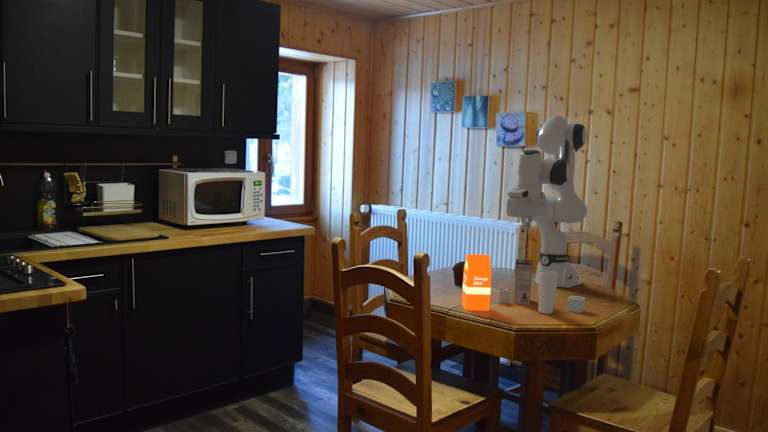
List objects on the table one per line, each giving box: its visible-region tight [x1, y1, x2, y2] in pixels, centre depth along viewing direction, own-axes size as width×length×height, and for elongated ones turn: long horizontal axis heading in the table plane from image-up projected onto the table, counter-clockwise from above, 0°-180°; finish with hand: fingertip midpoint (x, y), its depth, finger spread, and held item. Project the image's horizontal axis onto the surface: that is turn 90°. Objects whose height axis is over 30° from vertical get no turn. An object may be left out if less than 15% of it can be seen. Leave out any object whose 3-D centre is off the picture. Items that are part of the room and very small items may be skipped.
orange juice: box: [461, 253, 493, 312], centre depth 240 cm, size 8×9×20 cm
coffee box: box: [513, 258, 533, 305], centre depth 254 cm, size 9×6×16 cm
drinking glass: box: [537, 271, 558, 315], centre depth 238 cm, size 7×7×15 cm
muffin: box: [451, 260, 466, 288], centre depth 282 cm, size 12×11×10 cm
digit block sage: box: [490, 287, 511, 305], centre depth 253 cm, size 5×5×5 cm
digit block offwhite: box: [566, 295, 586, 314], centre depth 243 cm, size 5×5×5 cm
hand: (526, 227), depth 252 cm, fingers closed
